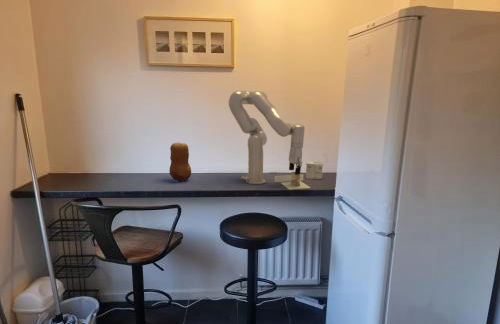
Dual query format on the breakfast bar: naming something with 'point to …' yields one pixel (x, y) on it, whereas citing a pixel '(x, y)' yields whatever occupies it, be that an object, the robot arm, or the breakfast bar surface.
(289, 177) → the cream plank
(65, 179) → the breakfast bar surface
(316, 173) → the light bulb box
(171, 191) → the breakfast bar surface
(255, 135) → the robot arm
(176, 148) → the butternut squash
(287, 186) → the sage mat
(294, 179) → the birch cylinder
